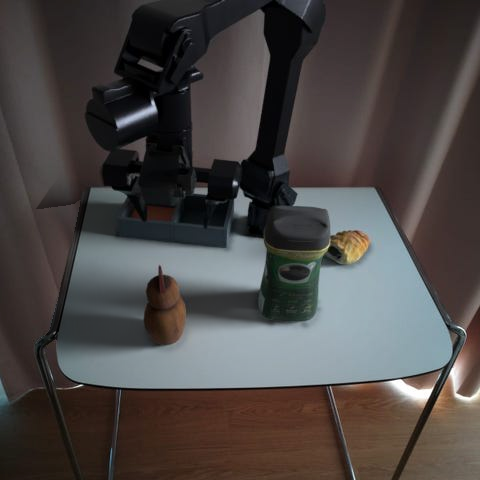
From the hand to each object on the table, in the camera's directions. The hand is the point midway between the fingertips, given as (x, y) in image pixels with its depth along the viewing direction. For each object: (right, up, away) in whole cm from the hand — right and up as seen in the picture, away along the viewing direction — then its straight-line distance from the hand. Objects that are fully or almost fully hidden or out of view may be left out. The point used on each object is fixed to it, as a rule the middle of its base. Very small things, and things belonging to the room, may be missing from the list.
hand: (175, 224), depth 74 cm
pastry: (+29, -2, +18) cm, 34 cm away
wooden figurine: (-2, -17, +3) cm, 17 cm away
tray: (-2, +4, +22) cm, 22 cm away
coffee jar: (+17, -12, +8) cm, 23 cm away
